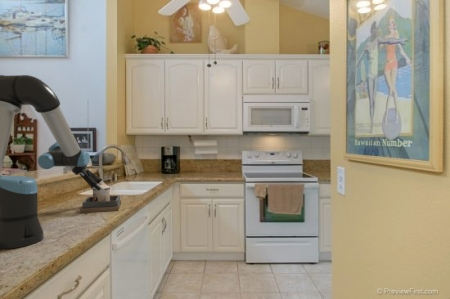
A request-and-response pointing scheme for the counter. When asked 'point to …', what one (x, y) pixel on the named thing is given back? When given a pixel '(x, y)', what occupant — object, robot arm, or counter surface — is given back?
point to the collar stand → (101, 205)
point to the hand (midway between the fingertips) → (106, 191)
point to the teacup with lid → (98, 196)
